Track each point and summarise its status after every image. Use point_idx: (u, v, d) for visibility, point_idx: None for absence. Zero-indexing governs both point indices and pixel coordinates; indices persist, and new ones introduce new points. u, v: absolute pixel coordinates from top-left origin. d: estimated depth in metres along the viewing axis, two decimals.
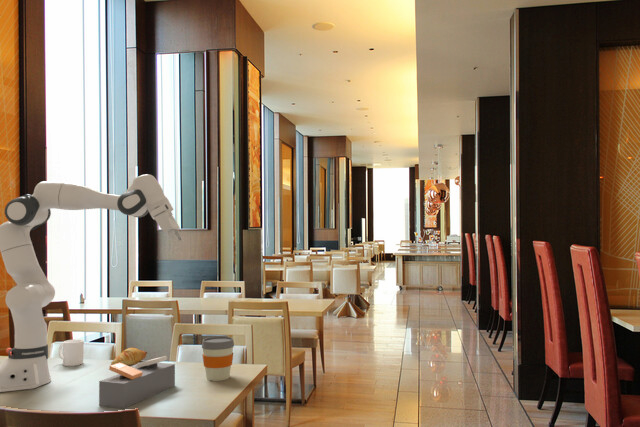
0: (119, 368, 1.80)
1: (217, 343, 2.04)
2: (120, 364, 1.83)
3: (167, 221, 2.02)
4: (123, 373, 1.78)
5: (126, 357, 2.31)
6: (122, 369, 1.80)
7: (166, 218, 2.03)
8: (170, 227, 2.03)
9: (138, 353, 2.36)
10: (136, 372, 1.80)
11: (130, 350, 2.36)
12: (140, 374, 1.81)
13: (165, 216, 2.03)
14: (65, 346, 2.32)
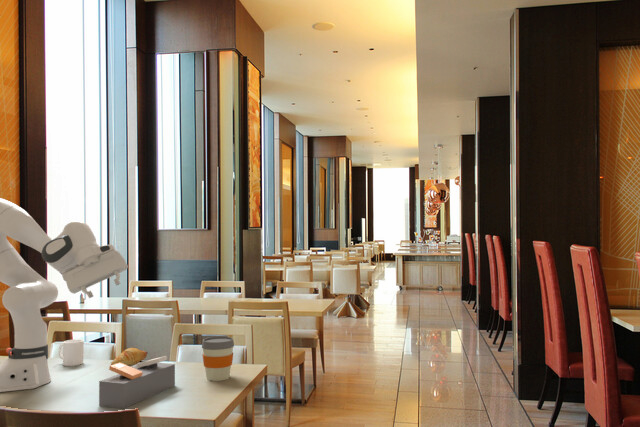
0: (119, 368, 1.80)
1: (217, 343, 2.04)
2: (120, 364, 1.83)
3: None
4: (123, 373, 1.78)
5: (126, 357, 2.31)
6: (122, 369, 1.80)
7: None
8: None
9: (138, 353, 2.36)
10: (136, 372, 1.80)
11: (130, 350, 2.35)
12: (140, 374, 1.81)
13: None
14: (65, 346, 2.32)
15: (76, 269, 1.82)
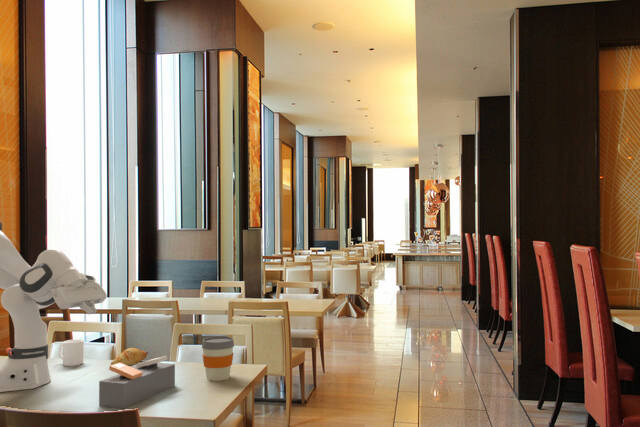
0: (119, 368, 1.80)
1: (217, 343, 2.04)
2: (120, 364, 1.83)
3: None
4: (123, 373, 1.78)
5: (126, 357, 2.31)
6: (122, 369, 1.80)
7: None
8: None
9: (138, 353, 2.36)
10: (136, 372, 1.80)
11: (130, 350, 2.35)
12: (140, 374, 1.81)
13: None
14: (65, 346, 2.32)
15: (66, 287, 1.85)
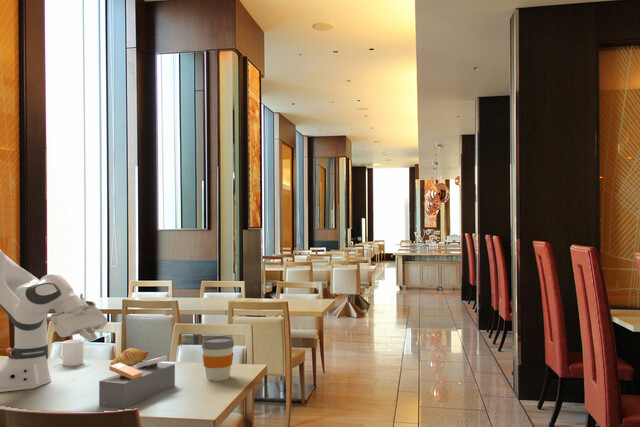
0: (119, 368, 1.80)
1: (217, 343, 2.04)
2: (120, 364, 1.83)
3: None
4: (123, 373, 1.78)
5: (126, 357, 2.31)
6: (122, 369, 1.80)
7: None
8: None
9: (138, 353, 2.36)
10: (136, 372, 1.80)
11: (130, 350, 2.35)
12: (140, 374, 1.81)
13: None
14: (65, 346, 2.32)
15: (66, 315, 1.84)
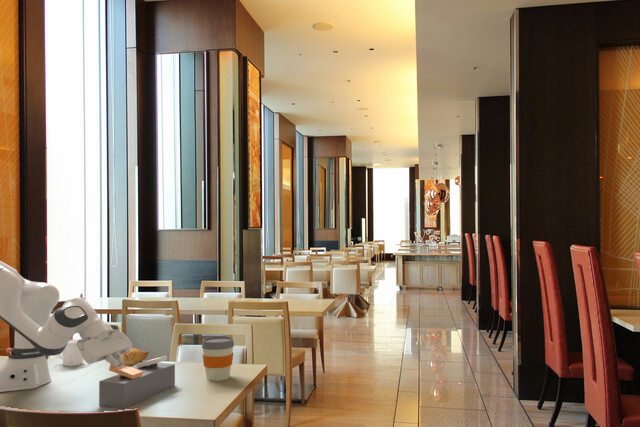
0: (119, 368, 1.80)
1: (217, 343, 2.04)
2: None
3: None
4: (123, 373, 1.78)
5: (125, 357, 2.31)
6: (122, 369, 1.80)
7: None
8: None
9: (138, 353, 2.35)
10: (136, 371, 1.80)
11: (130, 350, 2.35)
12: (140, 373, 1.81)
13: None
14: None
15: (93, 340, 1.80)
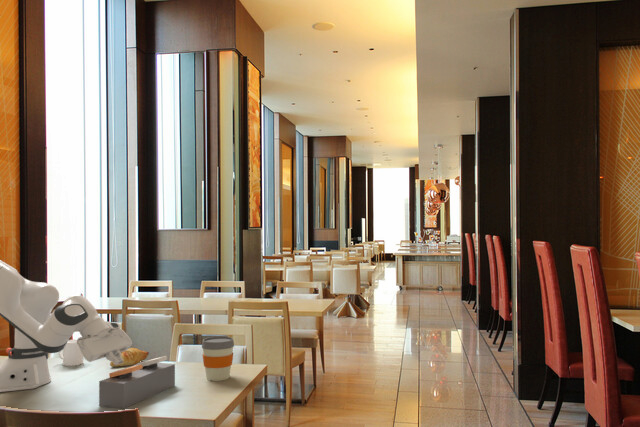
0: (118, 370, 1.80)
1: (217, 343, 2.04)
2: None
3: None
4: (123, 371, 1.78)
5: (125, 357, 2.31)
6: (121, 370, 1.80)
7: None
8: None
9: (138, 353, 2.35)
10: (135, 366, 1.81)
11: (130, 350, 2.35)
12: (140, 366, 1.81)
13: None
14: (65, 346, 2.32)
15: (93, 338, 1.80)
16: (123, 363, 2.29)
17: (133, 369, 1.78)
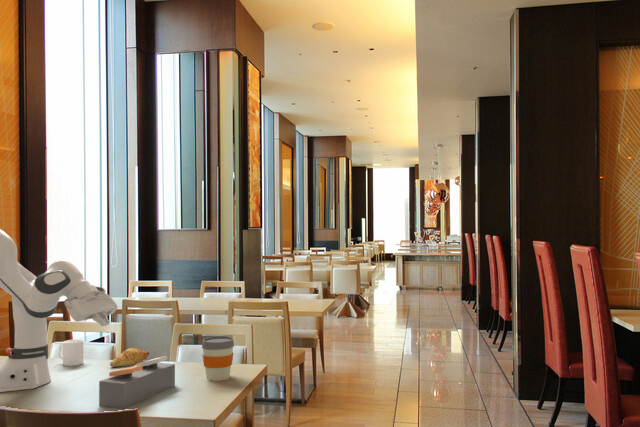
0: (119, 370, 1.80)
1: (217, 343, 2.04)
2: (119, 369, 1.84)
3: None
4: (123, 371, 1.78)
5: (125, 357, 2.30)
6: (121, 369, 1.80)
7: None
8: None
9: (138, 353, 2.35)
10: (135, 366, 1.81)
11: (130, 350, 2.35)
12: (140, 367, 1.81)
13: None
14: (65, 346, 2.32)
15: (80, 300, 1.85)
16: (123, 363, 2.29)
17: (133, 370, 1.78)
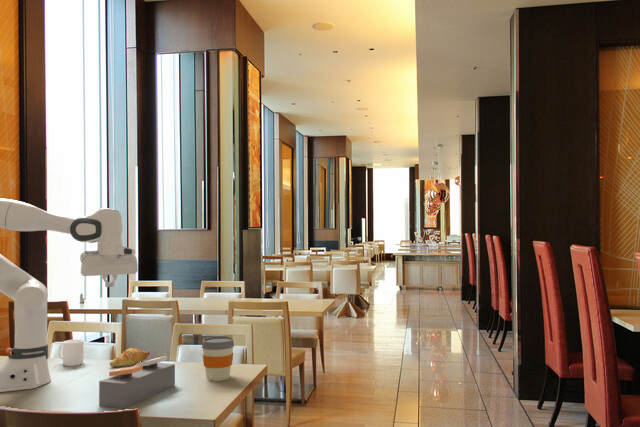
0: (119, 370, 1.80)
1: (217, 343, 2.04)
2: (119, 369, 1.84)
3: None
4: (123, 372, 1.78)
5: (125, 357, 2.30)
6: (121, 369, 1.80)
7: None
8: None
9: (138, 354, 2.35)
10: (135, 367, 1.81)
11: (130, 350, 2.35)
12: (140, 367, 1.81)
13: None
14: (65, 346, 2.32)
15: (96, 258, 1.97)
16: (123, 363, 2.29)
17: (133, 370, 1.78)
